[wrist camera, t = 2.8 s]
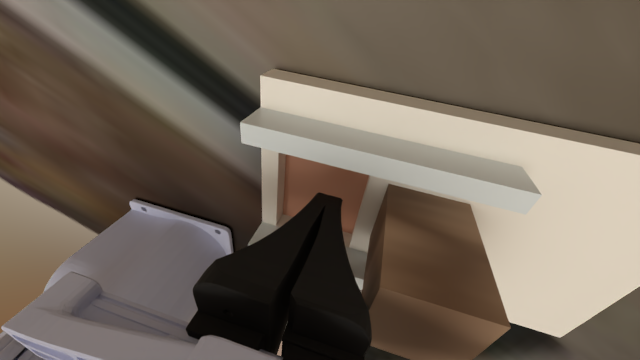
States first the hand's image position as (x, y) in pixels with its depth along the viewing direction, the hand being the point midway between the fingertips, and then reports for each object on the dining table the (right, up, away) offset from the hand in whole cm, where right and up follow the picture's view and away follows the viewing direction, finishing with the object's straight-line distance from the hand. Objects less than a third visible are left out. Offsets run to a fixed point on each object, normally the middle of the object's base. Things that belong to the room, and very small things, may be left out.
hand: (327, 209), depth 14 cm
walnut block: (+5, -1, 0) cm, 5 cm away
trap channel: (+5, 0, +1) cm, 5 cm away
